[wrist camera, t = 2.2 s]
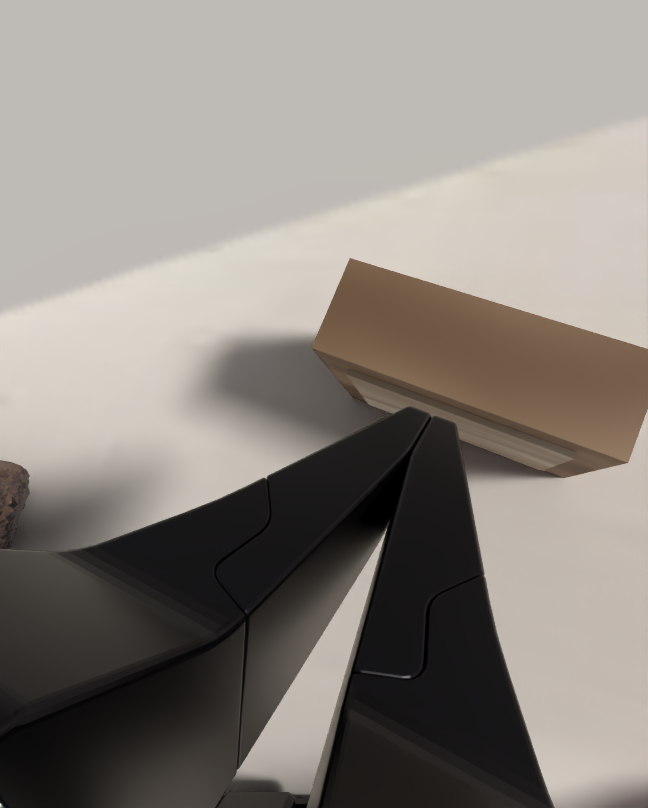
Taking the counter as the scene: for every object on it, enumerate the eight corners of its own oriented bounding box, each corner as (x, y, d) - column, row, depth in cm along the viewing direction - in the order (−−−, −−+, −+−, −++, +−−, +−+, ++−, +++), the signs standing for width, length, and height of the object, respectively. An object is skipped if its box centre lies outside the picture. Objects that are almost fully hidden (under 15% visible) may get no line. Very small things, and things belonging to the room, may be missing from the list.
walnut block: (562, 482, 21) (625, 470, 13) (350, 401, 23) (308, 354, 16) (590, 406, 21) (666, 354, 14) (378, 334, 23) (350, 258, 16)
